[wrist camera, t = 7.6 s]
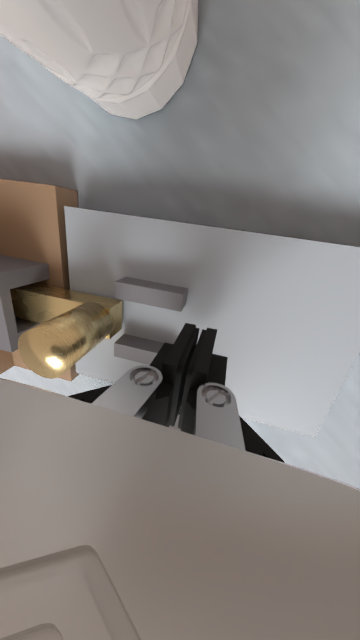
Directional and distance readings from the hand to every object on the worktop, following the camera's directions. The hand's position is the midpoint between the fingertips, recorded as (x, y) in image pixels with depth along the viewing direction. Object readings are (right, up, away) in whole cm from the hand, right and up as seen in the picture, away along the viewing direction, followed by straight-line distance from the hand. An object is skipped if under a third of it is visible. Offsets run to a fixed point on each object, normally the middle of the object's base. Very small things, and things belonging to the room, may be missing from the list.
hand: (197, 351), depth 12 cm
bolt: (-9, +3, +4) cm, 10 cm away
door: (-3, +3, +5) cm, 6 cm away
